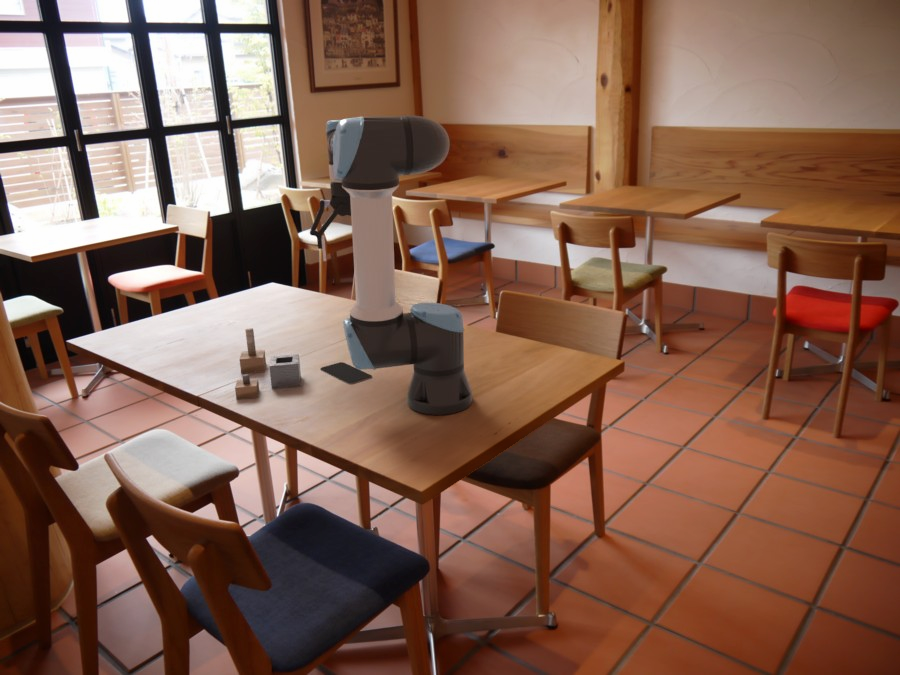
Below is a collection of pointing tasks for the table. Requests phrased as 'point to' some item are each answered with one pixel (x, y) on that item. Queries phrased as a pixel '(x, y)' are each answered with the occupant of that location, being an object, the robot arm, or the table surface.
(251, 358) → the wooden peg stand
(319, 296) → the table surface
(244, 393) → the block
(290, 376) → the grey hollow square block
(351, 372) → the smartphone
